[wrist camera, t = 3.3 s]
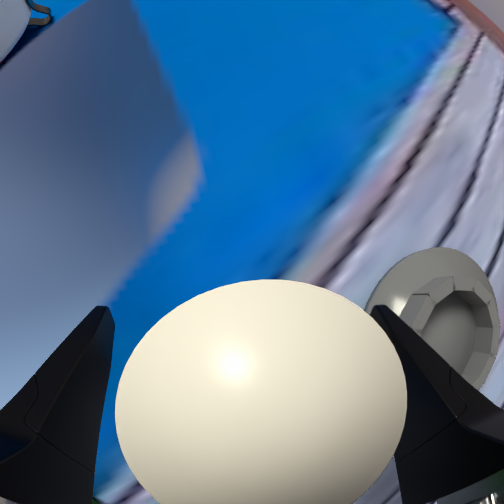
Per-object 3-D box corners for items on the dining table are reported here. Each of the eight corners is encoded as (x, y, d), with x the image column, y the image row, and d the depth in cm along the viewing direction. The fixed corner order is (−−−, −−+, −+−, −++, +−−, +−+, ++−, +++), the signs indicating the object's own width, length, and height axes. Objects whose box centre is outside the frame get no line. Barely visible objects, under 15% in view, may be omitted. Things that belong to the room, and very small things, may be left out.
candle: (217, 381, 16) (206, 559, 3) (181, 310, 17) (65, 355, 4) (290, 347, 17) (430, 456, 4) (255, 275, 17) (343, 226, 4)
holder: (388, 456, 16) (406, 472, 14) (324, 303, 17) (340, 304, 15) (503, 361, 18) (525, 365, 15) (461, 221, 19) (484, 213, 16)
